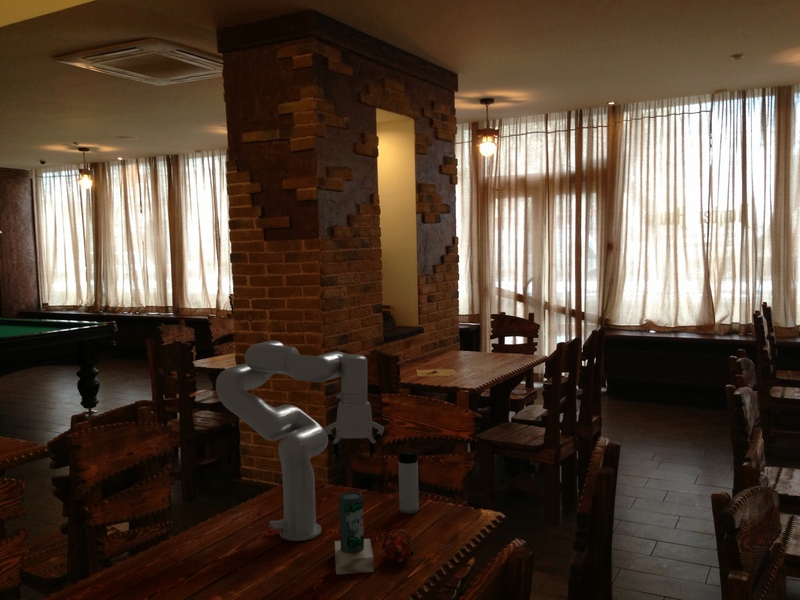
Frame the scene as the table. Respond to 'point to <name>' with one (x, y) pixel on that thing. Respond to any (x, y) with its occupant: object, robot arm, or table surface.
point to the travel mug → (408, 482)
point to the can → (351, 522)
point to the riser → (354, 559)
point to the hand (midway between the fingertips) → (354, 455)
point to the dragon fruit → (397, 546)
